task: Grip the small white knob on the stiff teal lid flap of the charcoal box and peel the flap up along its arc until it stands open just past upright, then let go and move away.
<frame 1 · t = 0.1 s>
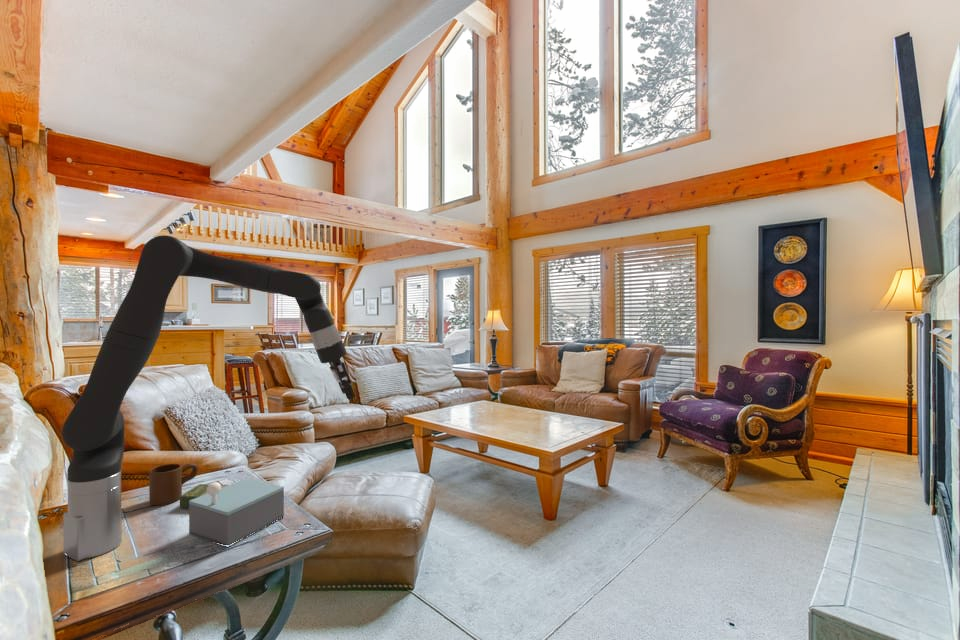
hand: (348, 395, 124), 31 cm above the table, tool tilted 20°, fingers open, 8 cm apart
storage box: (238, 525, 111), on the table
mug: (174, 498, 126), on the table
lid flap: (238, 485, 110), point 11 cm above the table, hinge at 0.0°
carton: (216, 505, 123), on the table
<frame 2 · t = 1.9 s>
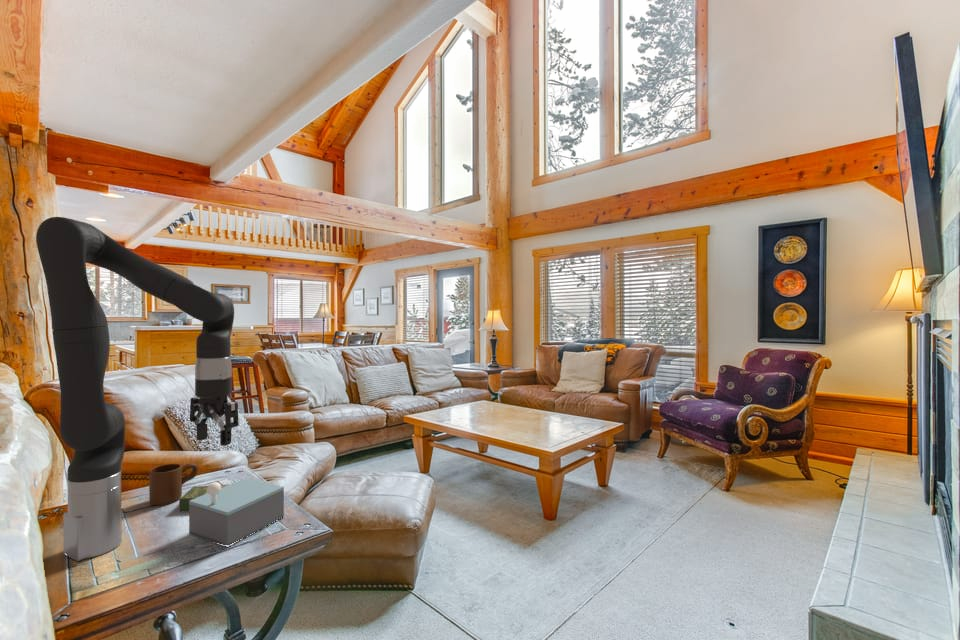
hand: (213, 442, 104), 24 cm above the table, tool pointing down, fingers open, 8 cm apart
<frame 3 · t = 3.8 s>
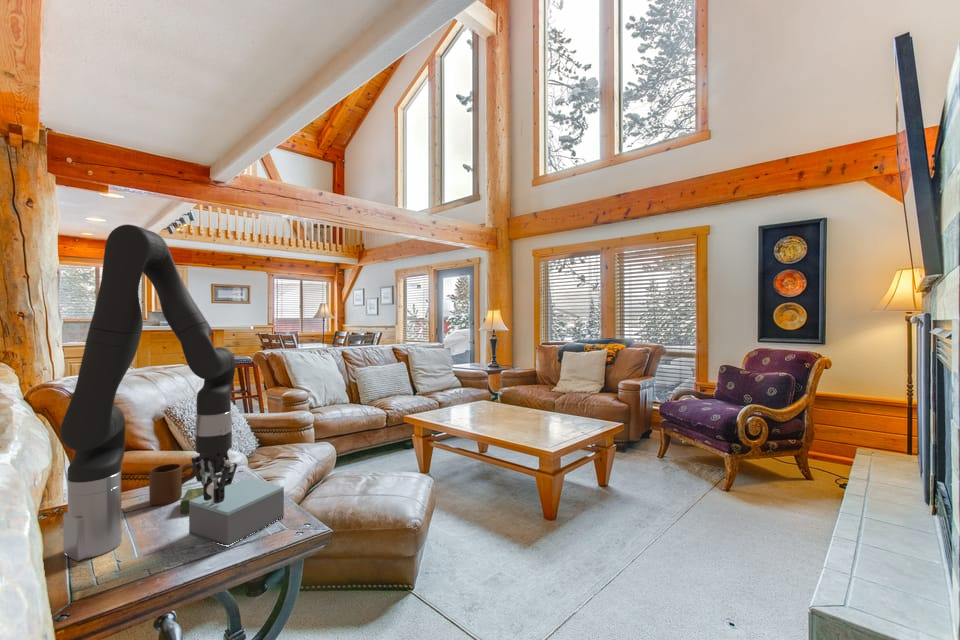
hand: (214, 500, 104), 9 cm above the table, tool pointing down, fingers closed on lid flap, 3 cm apart
lid flap: (238, 485, 110), point 11 cm above the table, hinge at 0.0°, touching gripper
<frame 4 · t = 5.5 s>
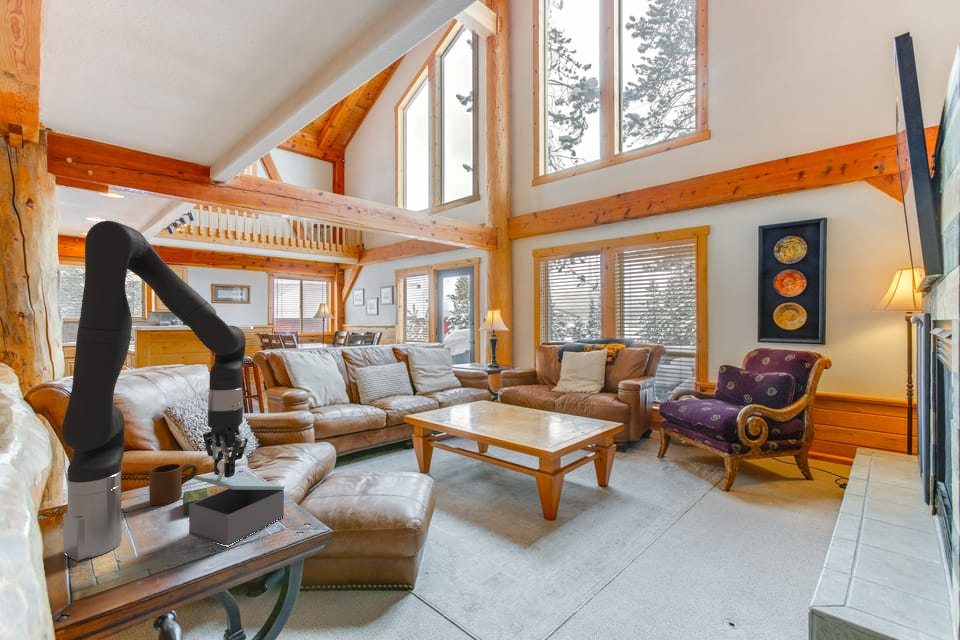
hand: (224, 474, 107), 15 cm above the table, tool pointing down, fingers closed on lid flap, 3 cm apart
lid flap: (244, 472, 112), point 13 cm above the table, hinge at 21.4°, touching gripper
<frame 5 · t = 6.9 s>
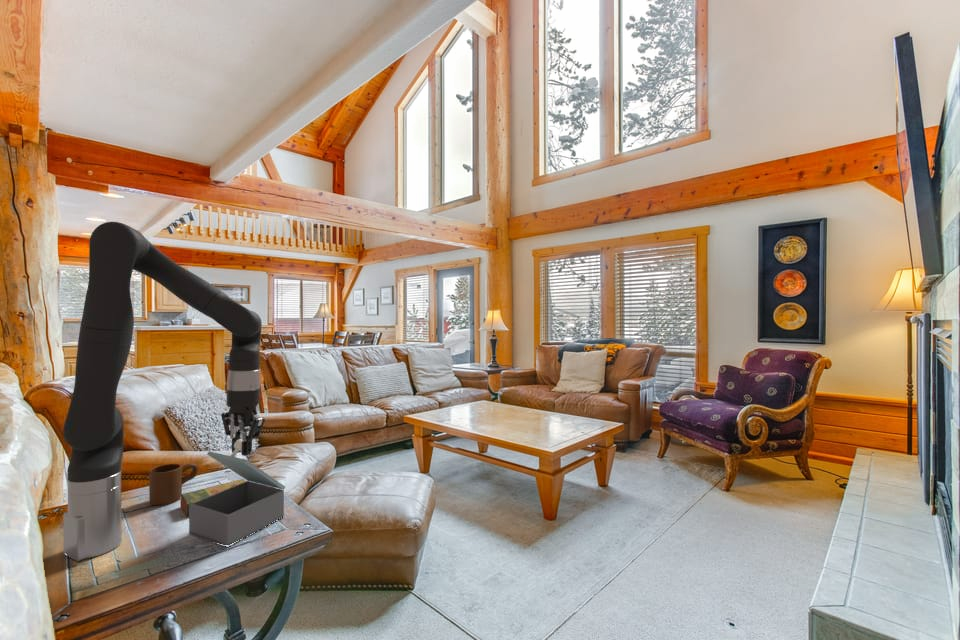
hand: (241, 453, 111), 19 cm above the table, tool pointing down, fingers closed on lid flap, 3 cm apart
lid flap: (253, 461, 114), point 15 cm above the table, hinge at 43.7°, touching gripper
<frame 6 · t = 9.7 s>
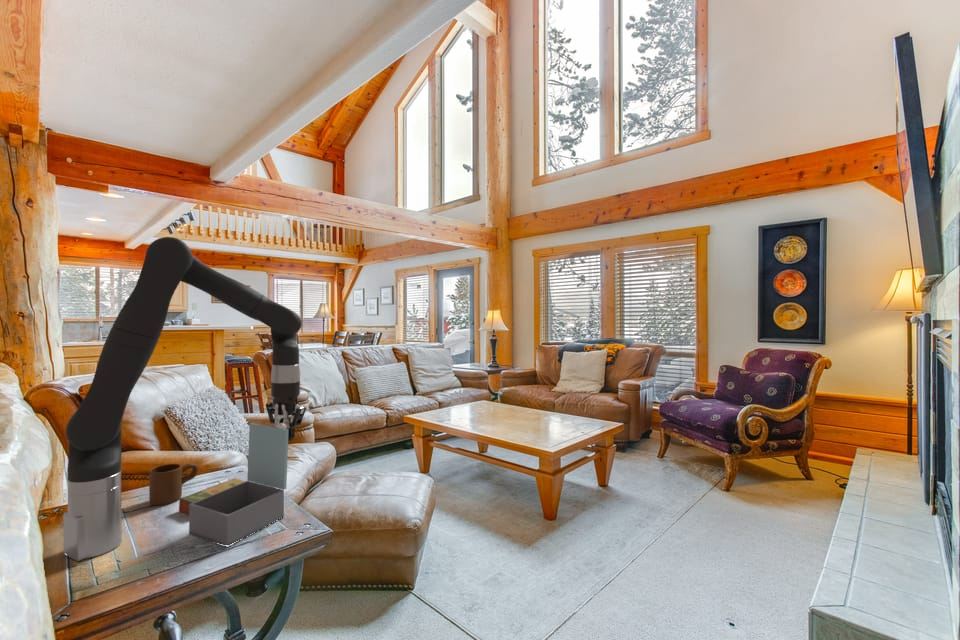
hand: (285, 439, 123), 18 cm above the table, tool pointing down, fingers open, 3 cm apart
lid flap: (275, 452, 120), point 15 cm above the table, hinge at 92.5°
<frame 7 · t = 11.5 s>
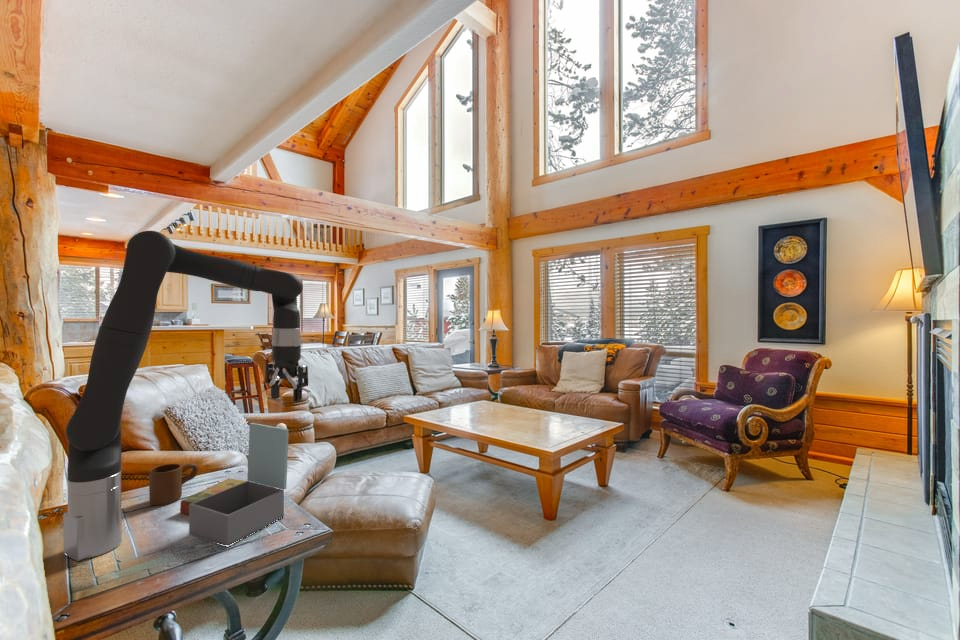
hand: (286, 400, 123), 30 cm above the table, tool pointing down, fingers open, 8 cm apart
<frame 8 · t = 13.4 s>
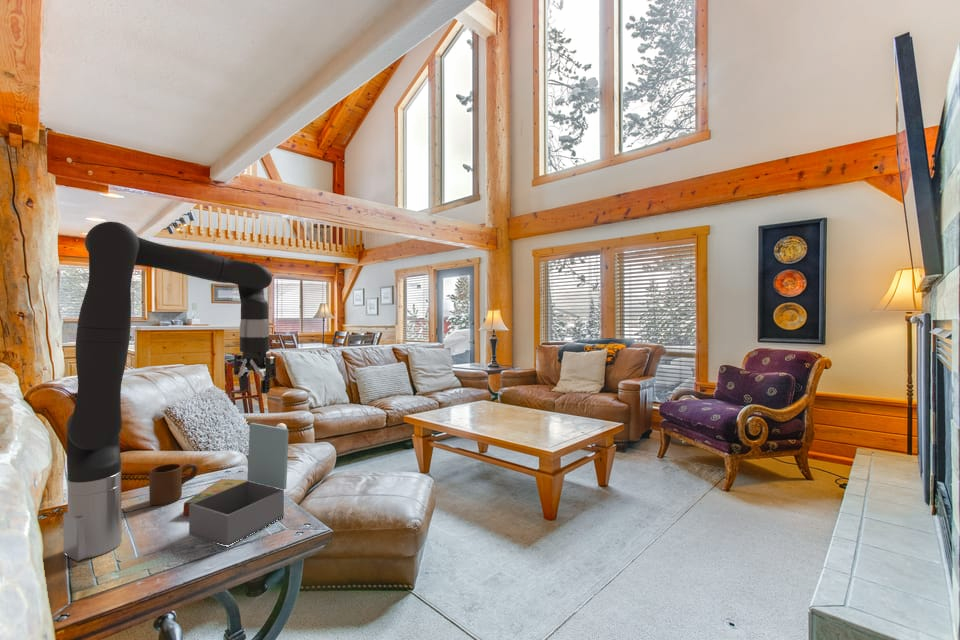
hand: (254, 391, 123), 32 cm above the table, tool pointing down, fingers open, 8 cm apart
at the end: lid flap at +92° (first picture: +0°); the gripper is holding nothing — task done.
